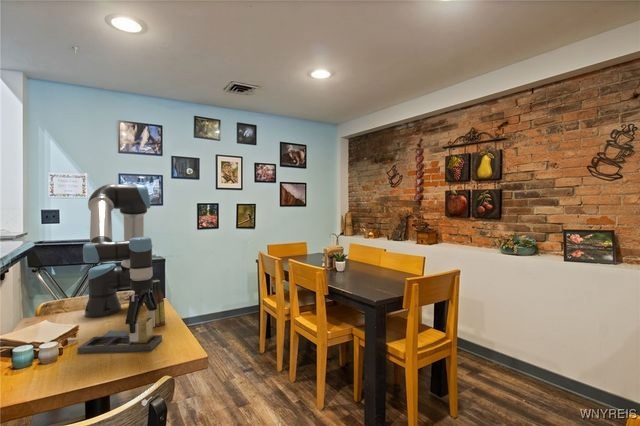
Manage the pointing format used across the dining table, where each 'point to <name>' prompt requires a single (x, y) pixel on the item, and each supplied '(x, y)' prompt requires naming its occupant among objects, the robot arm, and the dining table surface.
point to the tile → (116, 333)
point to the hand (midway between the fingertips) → (142, 333)
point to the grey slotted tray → (112, 346)
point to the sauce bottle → (158, 304)
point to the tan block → (144, 331)
